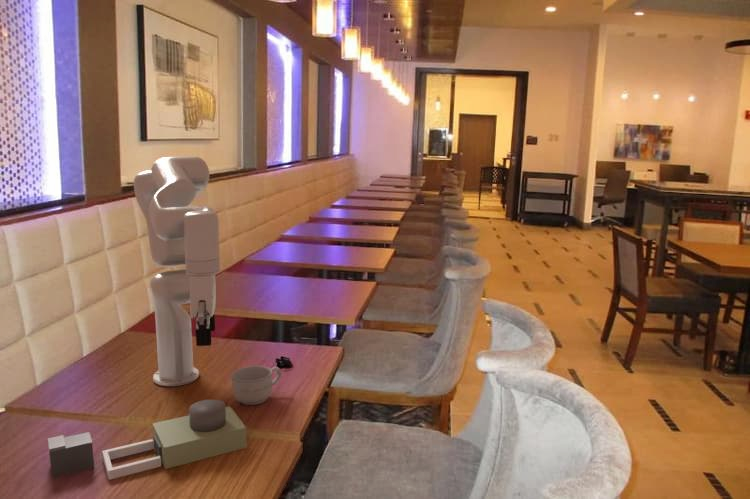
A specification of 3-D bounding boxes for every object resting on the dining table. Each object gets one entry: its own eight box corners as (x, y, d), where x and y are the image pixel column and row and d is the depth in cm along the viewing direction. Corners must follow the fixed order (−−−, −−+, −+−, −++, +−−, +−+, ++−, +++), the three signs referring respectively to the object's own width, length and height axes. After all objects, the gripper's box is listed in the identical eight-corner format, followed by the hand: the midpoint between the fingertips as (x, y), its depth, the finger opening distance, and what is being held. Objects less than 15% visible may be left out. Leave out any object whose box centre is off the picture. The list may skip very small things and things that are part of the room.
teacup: (238, 412, 155) (237, 383, 153) (227, 395, 164) (226, 368, 162) (289, 402, 161) (289, 373, 159) (276, 386, 170) (276, 359, 169)
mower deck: (101, 455, 134) (98, 418, 132) (230, 425, 148) (229, 390, 146) (109, 483, 124) (106, 443, 122) (246, 447, 138) (245, 411, 136)
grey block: (50, 466, 129) (47, 438, 128) (91, 456, 133) (89, 429, 132) (52, 478, 125) (49, 449, 124) (94, 467, 129) (91, 439, 128)
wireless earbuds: (292, 366, 182) (276, 362, 181) (289, 374, 182) (273, 369, 181) (292, 357, 188) (276, 353, 187) (289, 365, 189) (274, 360, 188)
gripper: (190, 258, 144) (193, 326, 147) (180, 275, 127) (184, 352, 131) (222, 257, 145) (225, 325, 149) (217, 274, 129) (220, 350, 132)
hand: (206, 337), depth 140 cm, fingers open, 9 cm apart
